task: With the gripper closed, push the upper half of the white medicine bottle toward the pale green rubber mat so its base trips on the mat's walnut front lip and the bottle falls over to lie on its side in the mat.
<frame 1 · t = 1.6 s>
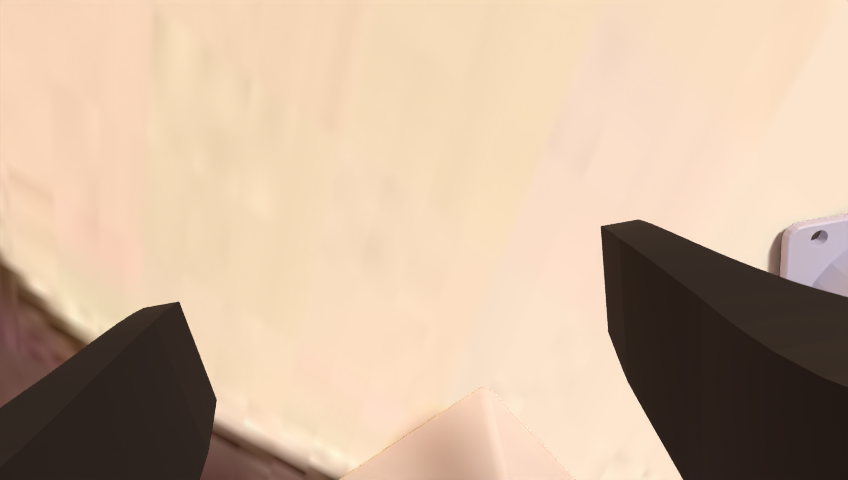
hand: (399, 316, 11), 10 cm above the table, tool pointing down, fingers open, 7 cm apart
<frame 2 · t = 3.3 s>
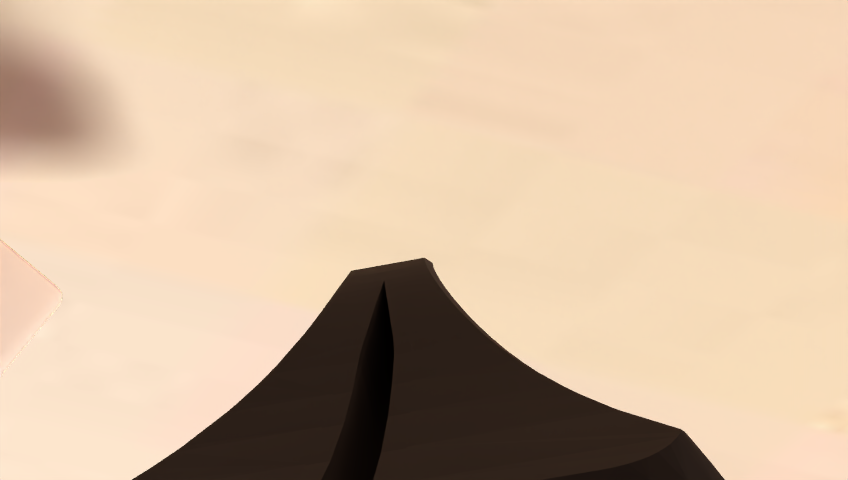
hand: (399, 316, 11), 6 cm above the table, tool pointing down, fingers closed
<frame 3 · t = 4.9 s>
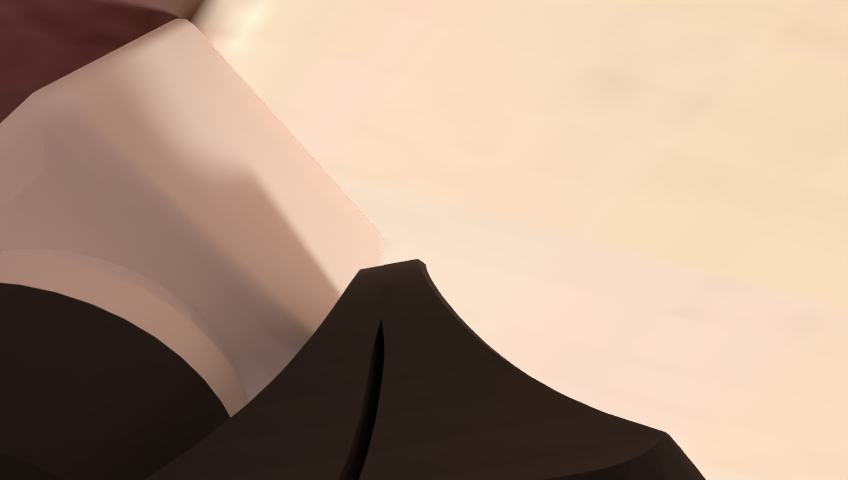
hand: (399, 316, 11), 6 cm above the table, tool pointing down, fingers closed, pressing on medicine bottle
medicine bottle: (191, 214, 18), on the table, touching gripper
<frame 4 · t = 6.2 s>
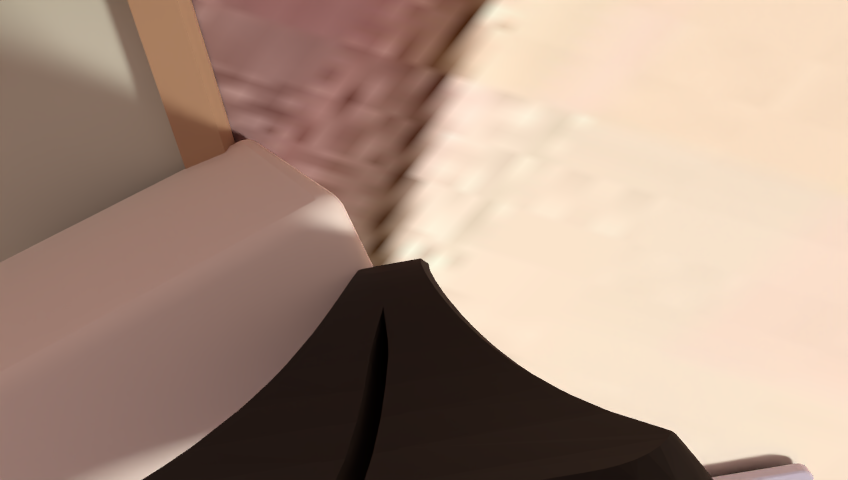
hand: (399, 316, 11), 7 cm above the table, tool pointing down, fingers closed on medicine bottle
medicine bottle: (367, 293, 15), point 3 cm above the table, touching gripper
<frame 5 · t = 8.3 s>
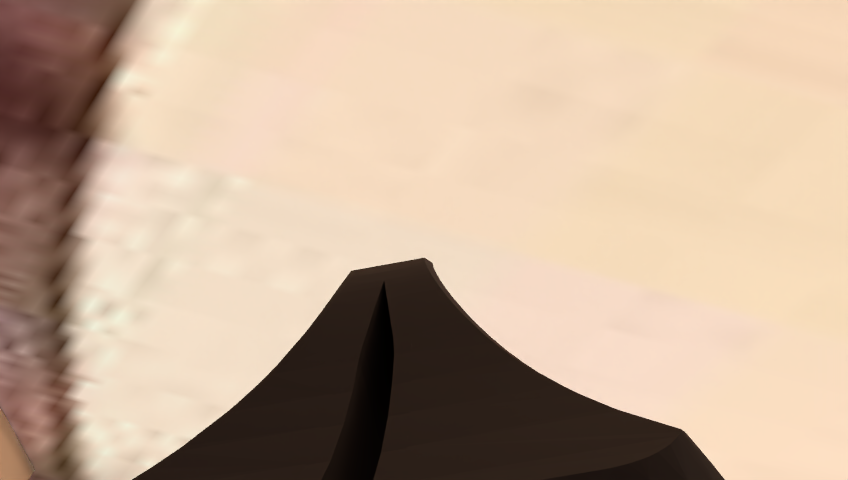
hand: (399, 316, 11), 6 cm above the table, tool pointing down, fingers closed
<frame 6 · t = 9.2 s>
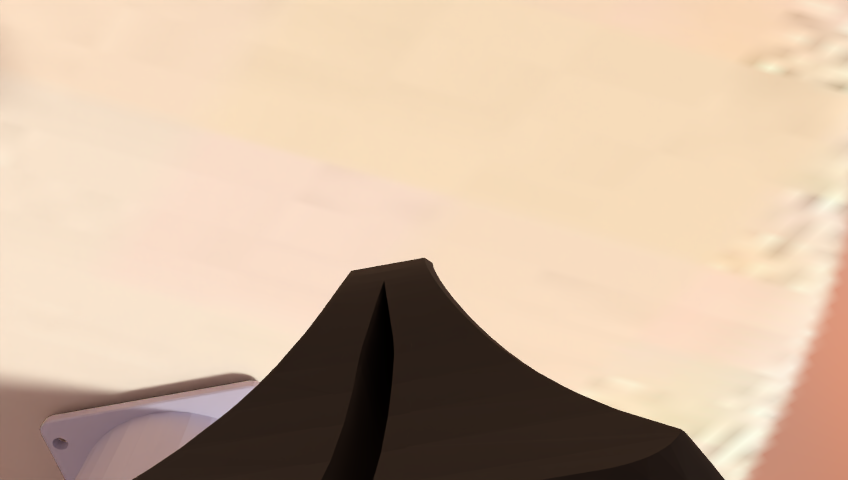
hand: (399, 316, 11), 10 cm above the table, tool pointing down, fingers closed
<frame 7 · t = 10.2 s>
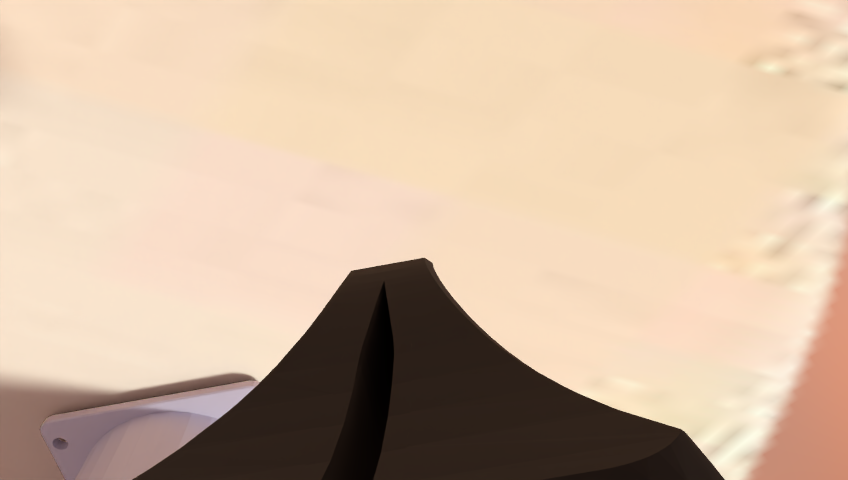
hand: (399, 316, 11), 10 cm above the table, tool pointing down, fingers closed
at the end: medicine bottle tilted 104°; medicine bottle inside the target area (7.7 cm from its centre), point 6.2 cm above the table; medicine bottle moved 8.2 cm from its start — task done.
